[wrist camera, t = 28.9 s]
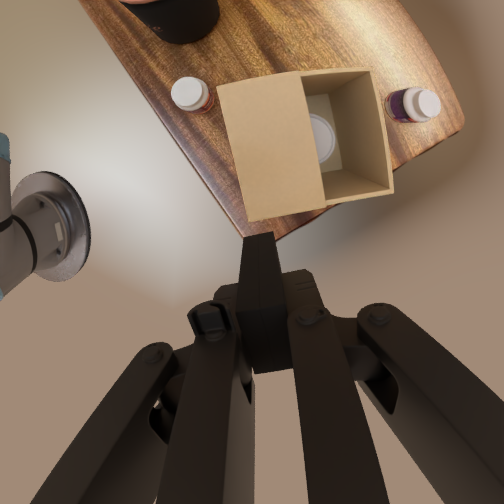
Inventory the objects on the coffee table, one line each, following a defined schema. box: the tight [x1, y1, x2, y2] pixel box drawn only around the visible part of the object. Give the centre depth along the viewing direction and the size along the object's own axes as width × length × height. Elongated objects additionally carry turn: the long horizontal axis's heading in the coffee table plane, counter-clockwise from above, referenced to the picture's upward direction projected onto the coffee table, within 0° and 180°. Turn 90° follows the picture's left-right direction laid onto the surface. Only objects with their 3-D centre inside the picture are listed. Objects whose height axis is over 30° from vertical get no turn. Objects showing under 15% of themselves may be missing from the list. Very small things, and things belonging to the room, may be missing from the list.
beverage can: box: [309, 113, 336, 164], centre depth 33 cm, size 6×6×15 cm
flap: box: [216, 71, 326, 222], centre depth 24 cm, size 7×13×1 cm, turn 12°
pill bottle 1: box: [171, 77, 214, 114], centre depth 34 cm, size 5×5×8 cm
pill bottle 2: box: [385, 87, 441, 123], centre depth 33 cm, size 5×5×10 cm
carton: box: [299, 66, 394, 205], centre depth 32 cm, size 15×13×18 cm
